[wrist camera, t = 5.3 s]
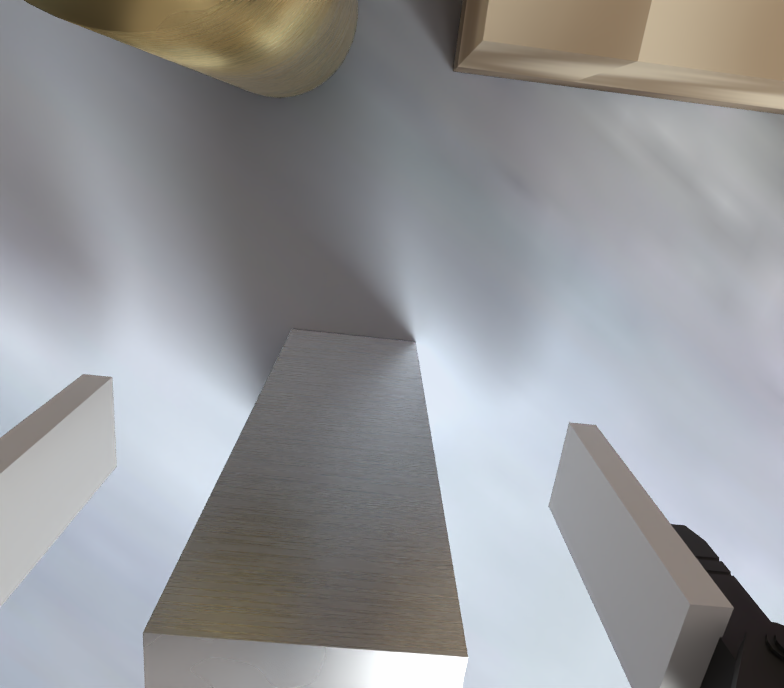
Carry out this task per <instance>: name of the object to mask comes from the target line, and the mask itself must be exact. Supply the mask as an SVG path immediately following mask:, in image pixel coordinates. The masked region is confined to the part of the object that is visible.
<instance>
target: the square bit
mask: <svg viewBox="0 0 784 688" xmlns="http://www.w3.org/2000/svg"><path fill="white" fill-rule="evenodd" d="M143 649H144V677H145V688H462V684H463V679H464V674H465V669H466V665H467V660H468V654H467V648H466V642H465V636H464V630H463V624H462V618H461V612H460V606H459V600H458V594H457V588H456V582H455V576H454V570H453V564H452V558H451V552H450V546H449V540H448V534H447V528H446V522H445V516H444V510H443V504H442V498H441V492H440V486H439V480H438V474H437V468H436V462H435V456H434V450H433V443H432V437H431V431H430V425H429V419H428V413H427V407H426V401H425V395H424V389H423V383H422V377H421V371H420V365H419V359H418V353H417V347H416V342H412V341H403V340H393V339H384V338H374V337H365V336H355V335H346V334H336V333H327V332H317V331H308V330H298V329H291V331H290V333H289V335H288V338H287V340H286V342H285V344H284V346H283V348H282V350H281V352H280V354H279V356H278V358H277V360H276V362H275V364H274V366H273V368H272V370H271V372H270V374H269V376H268V378H267V380H266V382H265V384H264V387H263V389H262V391H261V393H260V395H259V397H258V399H257V401H256V403H255V405H254V407H253V409H252V411H251V413H250V415H249V417H248V419H247V421H246V423H245V425H244V427H243V429H242V431H241V433H240V436H239V438H238V440H237V442H236V444H235V446H234V448H233V450H232V452H231V454H230V456H229V458H228V460H227V462H226V464H225V466H224V468H223V470H222V472H221V474H220V476H219V478H218V480H217V482H216V485H215V487H214V489H213V491H212V493H211V495H210V497H209V499H208V501H207V503H206V505H205V507H204V509H203V511H202V513H201V515H200V517H199V519H198V521H197V523H196V525H195V527H194V529H193V531H192V534H191V536H190V538H189V540H188V542H187V544H186V546H185V548H184V550H183V552H182V554H181V556H180V558H179V560H178V562H177V564H176V566H175V568H174V570H173V572H172V574H171V576H170V578H169V580H168V583H167V585H166V587H165V589H164V591H163V593H162V595H161V597H160V599H159V601H158V603H157V605H156V607H155V609H154V611H153V613H152V615H151V617H150V619H149V621H148V623H147V625H146V627H145V629H144V632H143Z"/></svg>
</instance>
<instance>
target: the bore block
mask: <svg viewBox="0 0 784 688" xmlns="http://www.w3.org/2000/svg"><path fill="white" fill-rule="evenodd" d="M453 71H455V72H463V73H470V74H478V75H485V76H493V77H501V78H508V79H516V80H524V81H531V82H539V83H546V84H554V85H562V86H569V87H577V88H585V89H592V90H600V91H608V92H615V93H623V94H630V95H638V96H646V97H653V98H661V99H669V100H676V101H684V102H692V103H699V104H707V105H714V106H722V107H730V108H737V109H745V110H753V111H760V112H768V113H775V114H783V115H784V0H463V3H462V10H461V17H460V24H459V32H458V39H457V46H456V53H455V61H454V68H453Z"/></svg>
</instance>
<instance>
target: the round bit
mask: <svg viewBox="0 0 784 688" xmlns="http://www.w3.org/2000/svg"><path fill="white" fill-rule="evenodd" d="M24 1H26V2H27V3H29V4H31V5H33V6H35V7H37V8H39V9H41V10H43V11H45V12H47V13H49V14H51V15H53V16H55V17H58V18H61V19H63V20H66V21H68V22H71V23H73V24H76V25H79V26H81V27H84V28H86V29H89V30H92V31H94V32H97V33H99V34H102V35H104V36H107V37H110V38H112V39H115V40H117V41H120V42H123V43H125V44H128V45H130V46H133V47H135V48H138V49H141V50H143V51H146V52H148V53H151V54H154V55H156V56H159V57H161V58H164V59H166V60H169V61H172V62H174V63H177V64H179V65H182V66H185V67H187V68H190V69H192V70H195V71H197V72H200V73H203V74H205V75H208V76H210V77H213V78H216V79H218V80H221V81H223V82H226V83H228V84H231V85H234V86H236V87H239V88H241V89H244V90H247V91H249V92H252V93H255V94H258V95H262V96H267V97H277V98H283V97H292V96H296V95H301V94H303V93H306V92H309V91H311V90H313V89H315V88H316V87H318V86H320V85H321V84H322V83H324V82H325V81H326V80H328V79H329V78H330V77H331V76H332V75H333V74H334V73H335V72H336V71H337V69H338V68H339V67H340V65H341V64H342V62H343V61H344V59H345V57H346V55H347V54H348V52H349V49H350V47H351V44H352V42H353V39H354V35H355V31H356V26H357V19H358V0H24Z"/></svg>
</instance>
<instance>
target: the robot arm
mask: <svg viewBox="0 0 784 688" xmlns="http://www.w3.org/2000/svg"><path fill="white" fill-rule="evenodd" d="M116 467H117V460H116V440H115V420H114V399H113V379H112V377H106V376H96V375H86V374H83V375H81V376H80V377H79V378H77V379H76V380H75V381H74V382H72V383H71V384H70V385H68V386H67V387H66V388H65V389H63V390H62V391H61V392H59V393H58V394H57V395H55V396H54V397H53V398H52V399H50V400H49V401H48V402H46V403H45V404H44V405H42V406H41V407H40V408H39V409H37V410H36V411H35V412H33V413H32V414H31V415H29V416H28V417H27V418H26V419H24V420H23V421H22V422H20V423H19V424H18V425H16V426H15V427H14V428H13V429H11V430H10V431H9V432H7V433H6V434H5V435H3V436H2V437H1V438H0V608H1V607H2V605H3V604H4V603H5V602H6V600H7V599H8V598H9V597H10V596H11V594H12V593H13V592H14V591H15V590H16V588H17V587H18V586H19V585H20V583H21V582H22V581H23V580H24V579H25V577H26V576H27V575H28V574H29V573H30V571H31V570H32V569H33V568H34V566H35V565H36V564H37V563H38V562H39V560H40V559H41V558H42V557H43V556H44V554H45V553H46V552H47V551H48V549H49V548H50V547H51V546H52V545H53V543H54V542H55V541H56V540H57V539H58V537H59V536H60V535H61V534H62V533H63V531H64V530H65V529H66V528H67V526H68V525H69V524H70V523H71V522H72V520H73V519H74V518H75V517H76V516H77V514H78V513H79V512H80V511H81V509H82V508H83V507H84V506H85V505H86V503H87V502H88V501H89V500H90V499H91V497H92V496H93V495H94V494H95V492H96V491H97V490H98V489H99V488H100V486H101V485H102V484H103V483H104V482H105V480H106V479H107V478H108V477H109V475H110V474H111V473H112V472H113V471H114V469H115V468H116ZM549 508H550V510H551V512H552V514H553V517H554V519H555V521H556V523H557V525H558V528H559V530H560V532H561V534H562V536H563V539H564V541H565V543H566V545H567V547H568V550H569V552H570V554H571V556H572V558H573V560H574V563H575V565H576V567H577V569H578V571H579V574H580V576H581V578H582V580H583V582H584V585H585V587H586V589H587V591H588V593H589V595H590V598H591V600H592V602H593V604H594V606H595V609H596V611H597V613H598V615H599V617H600V620H601V622H602V624H603V626H604V628H605V631H606V633H607V635H608V637H609V639H610V641H611V644H612V646H613V648H614V650H615V652H616V655H617V657H618V659H619V661H620V663H621V666H622V668H623V670H624V672H625V674H626V677H627V679H628V681H629V683H630V685H631V687H632V688H784V625H781V624H778V623H774V622H771V621H770V620H769V619H768V618H767V616H766V615H765V614H764V613H763V611H762V610H761V609H760V608H759V607H758V605H757V604H756V603H755V602H754V600H753V599H752V598H751V597H750V595H749V594H748V593H747V592H746V591H745V589H744V588H743V587H742V586H741V584H740V583H739V582H738V581H737V579H736V578H735V577H734V576H731V574H730V573H731V572H730V571H729V570H728V568H727V567H726V566H725V565H724V563H723V562H722V561H719V557H718V556H717V555H716V554H715V552H714V551H713V550H712V549H711V547H710V546H709V545H708V544H707V542H706V541H705V540H703V539H702V538H701V537H699V536H698V535H697V534H695V533H694V532H693V531H691V530H690V529H689V528H687V527H686V526H685V525H674V524H670V523H669V521H668V520H667V519H666V517H665V516H664V515H663V513H662V512H661V511H660V509H659V508H658V507H657V505H656V504H655V503H654V502H653V500H652V499H651V498H650V496H649V495H648V494H647V492H646V491H645V490H644V488H643V487H642V486H641V484H640V483H639V482H638V480H637V479H636V478H635V476H634V475H633V474H632V472H631V471H630V470H629V468H628V467H627V466H626V464H625V463H624V462H623V460H622V459H621V458H620V457H619V455H618V454H617V453H616V451H615V450H614V449H613V447H612V446H611V445H610V443H609V442H608V441H607V439H606V438H605V437H604V435H603V434H602V433H601V431H600V430H599V429H598V427H597V426H596V425H589V424H579V423H569V425H568V429H567V433H566V437H565V441H564V445H563V449H562V453H561V457H560V462H559V466H558V470H557V474H556V478H555V482H554V486H553V490H552V494H551V498H550V502H549Z"/></svg>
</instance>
